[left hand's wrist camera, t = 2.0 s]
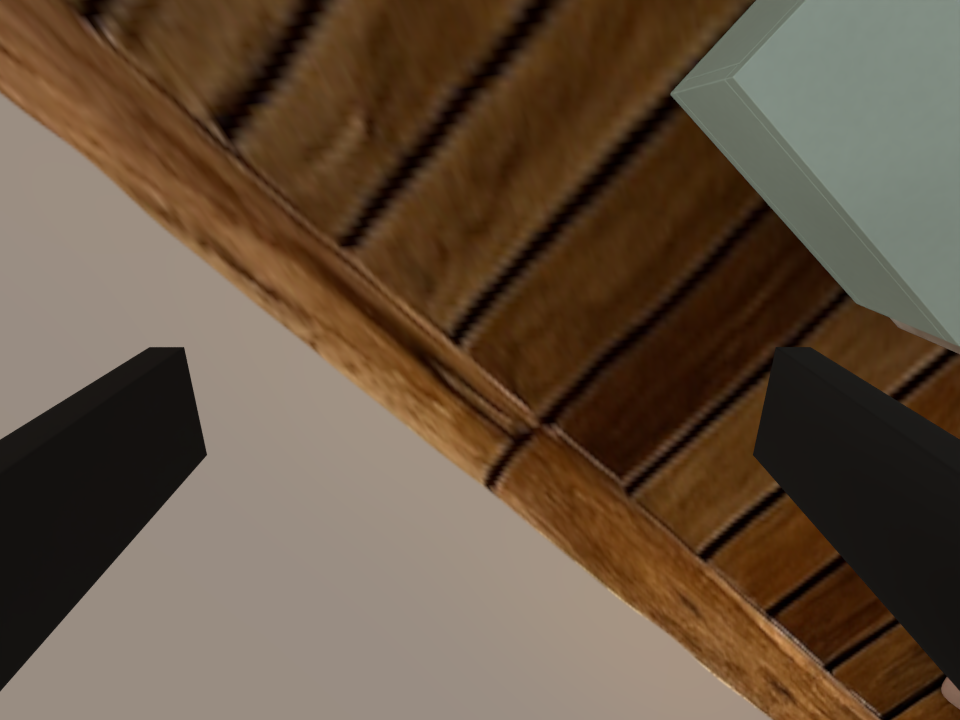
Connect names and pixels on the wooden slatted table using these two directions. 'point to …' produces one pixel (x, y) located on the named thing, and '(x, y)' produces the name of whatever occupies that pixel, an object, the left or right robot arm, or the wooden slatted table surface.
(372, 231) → the wooden slatted table surface
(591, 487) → the wooden slatted table surface
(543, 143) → the wooden slatted table surface
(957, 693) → the anatomical model
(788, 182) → the cabinet
